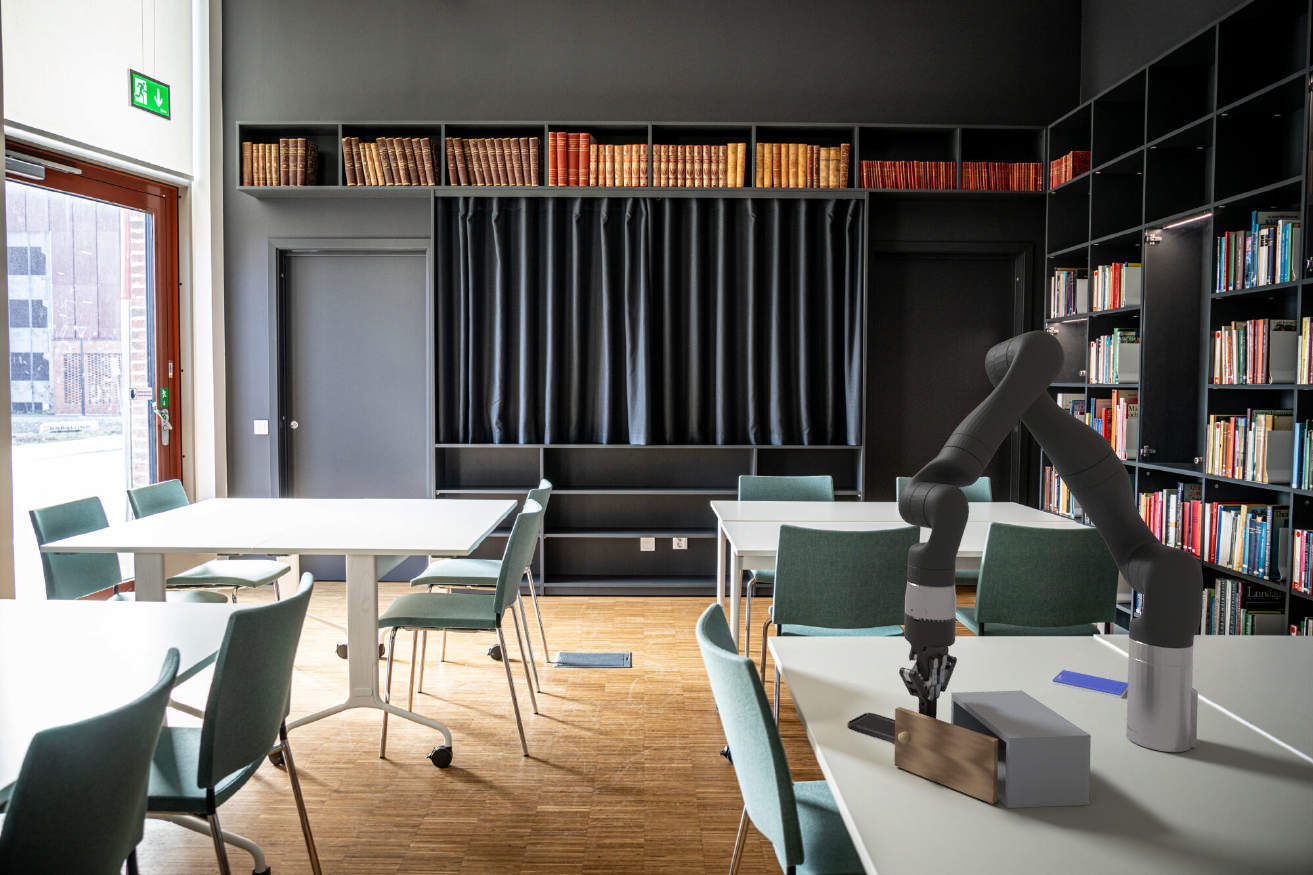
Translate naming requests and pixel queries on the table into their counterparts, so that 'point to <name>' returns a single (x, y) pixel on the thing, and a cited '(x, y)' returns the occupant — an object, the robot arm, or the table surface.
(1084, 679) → the hard drive
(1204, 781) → the table surface
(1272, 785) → the table surface
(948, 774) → the door
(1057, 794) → the storage box
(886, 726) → the phone
